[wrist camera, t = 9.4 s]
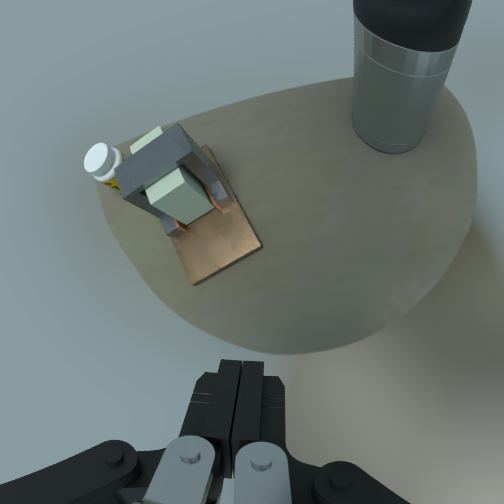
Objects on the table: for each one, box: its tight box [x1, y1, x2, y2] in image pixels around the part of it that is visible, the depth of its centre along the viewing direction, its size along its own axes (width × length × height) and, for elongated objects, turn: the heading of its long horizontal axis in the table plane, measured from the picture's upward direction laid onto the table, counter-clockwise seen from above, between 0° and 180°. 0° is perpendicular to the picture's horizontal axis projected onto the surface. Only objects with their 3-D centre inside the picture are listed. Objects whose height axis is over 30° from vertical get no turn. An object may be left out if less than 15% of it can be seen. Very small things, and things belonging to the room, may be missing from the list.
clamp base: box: [114, 123, 263, 286], centre depth 32 cm, size 15×9×10 cm, turn 28°
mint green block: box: [130, 126, 215, 225], centre depth 33 cm, size 8×4×8 cm, turn 28°
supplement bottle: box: [84, 143, 129, 193], centre depth 37 cm, size 5×5×8 cm
